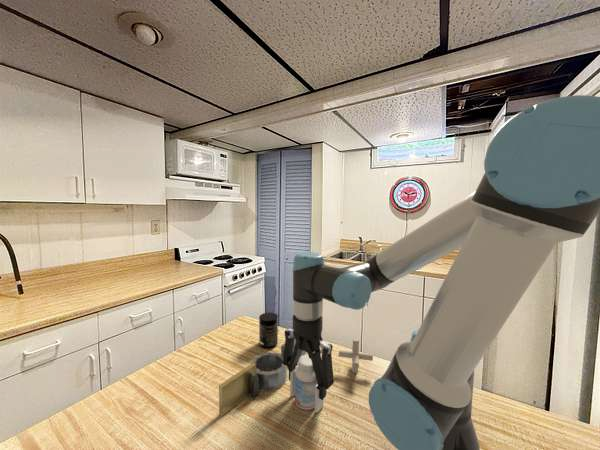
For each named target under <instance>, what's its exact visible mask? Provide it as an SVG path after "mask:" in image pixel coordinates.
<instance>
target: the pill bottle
mask: <svg viewBox="0 0 600 450" xmlns="http://www.w3.org/2000/svg"><path fill="white" fill-rule="evenodd" d="M296 367H297V368H296V371H295V395H294V402H295V405H296V406H297V407H298V408H299V409H301V410H306V411H310V410H312V409H315V386H316V385H317V384H318V383H317V380H316V376H315V372H314V369H313V365H312V361H311V359H310V358H309V355H308V354H303V355H302V356H301V357H300V358H299V360H298V365H297V366H296Z"/></svg>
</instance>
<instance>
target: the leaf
mask: <svg viewBox="0 0 600 450" xmlns="http://www.w3.org/2000/svg"><path fill="white" fill-rule="evenodd" d="M254 375H255V376H256V364H255V363H252V364H251V363H250V364H249V365H247V366H245V367H244V368H243V369H242V370H240V371H239V372H237V373H235V374H234V375H232V376H231V377H230V378H228V379H226V380H225V381H223V382H222V383H221V384H219V385H218V404H219V405H218V406H219V408H218V410H219V411H218V412H219V414H220V415H221V416H224V415H226V413H228V412H229V411H230V410H232V409H233V408H234V407H235V406H236V405H238V404H239V403H240V402H241V401H243V400H244V399H246V398H247V397H248V396H250V378H251V377H253V376H254Z"/></svg>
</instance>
